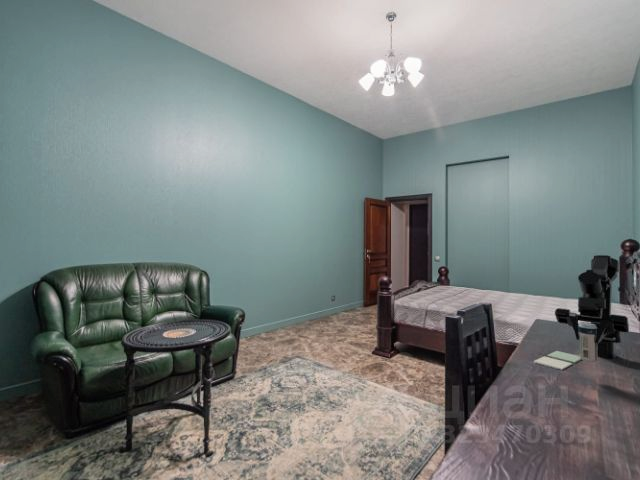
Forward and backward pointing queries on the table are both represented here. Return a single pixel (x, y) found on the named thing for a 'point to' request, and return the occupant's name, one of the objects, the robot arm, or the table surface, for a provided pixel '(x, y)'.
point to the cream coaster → (553, 363)
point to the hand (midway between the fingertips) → (587, 340)
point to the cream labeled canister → (588, 342)
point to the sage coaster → (564, 356)
